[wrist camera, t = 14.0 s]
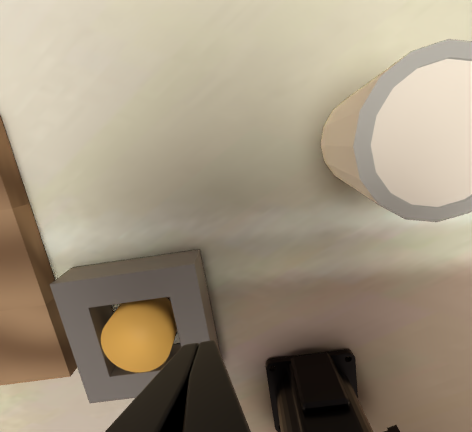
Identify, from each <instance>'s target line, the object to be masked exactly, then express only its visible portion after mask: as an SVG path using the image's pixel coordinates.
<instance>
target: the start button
mask: <svg viewBox="0 0 472 432" xmlns="http://www.w3.org/2000/svg"><path fill="white" fill-rule="evenodd" d="M176 333H177V326H176V321H175V317H174V313H173V309H172V304H171V301H170V300H168V299H167V298H166V297H164V298H156V299H149V300H142V301H134V302H127V303H121V304H120V306H119V307H118V308H117V310H116V311H115V312H114V314H113V315H112V316H111V318H110V319H109V321H108V322H107V323H106V325H105V326H104V328H103V330H102V334H101V345H102V349H103V351H104V353H105V355H106V356H107V358H108V359H109V360H110V361H111V362H112V363H113V364H115V365H116V366H118V367H120V368H121V369H124V370H126V371H130V372H148V371H151V370H154V369H156V368H158V367H159V366H161V365H162V364H163V363H164V362H165V361H166V359H167V358H168V356H169V354H170V351H171V348H172V345H173V342H174V339H175V336H176Z"/></svg>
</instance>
